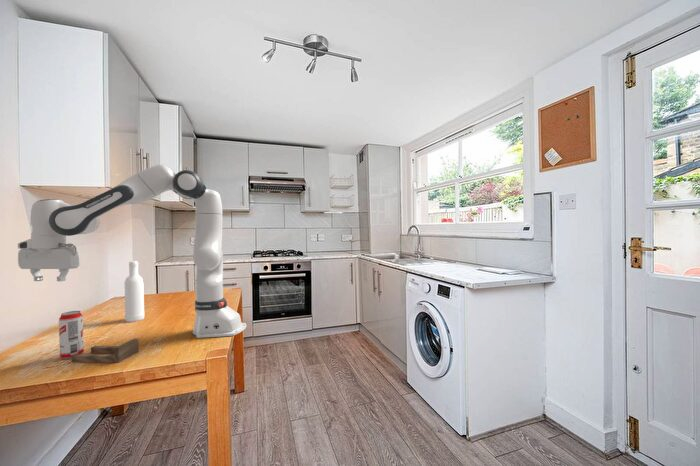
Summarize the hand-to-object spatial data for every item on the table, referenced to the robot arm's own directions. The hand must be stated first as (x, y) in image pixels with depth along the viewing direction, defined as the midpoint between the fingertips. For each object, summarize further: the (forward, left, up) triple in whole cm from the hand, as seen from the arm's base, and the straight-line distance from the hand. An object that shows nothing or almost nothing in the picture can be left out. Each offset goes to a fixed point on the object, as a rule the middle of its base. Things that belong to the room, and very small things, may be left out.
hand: (49, 281), depth 103 cm
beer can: (-8, 0, -28) cm, 29 cm away
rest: (-21, 0, -28) cm, 35 cm away
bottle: (+3, -41, -28) cm, 50 cm away
